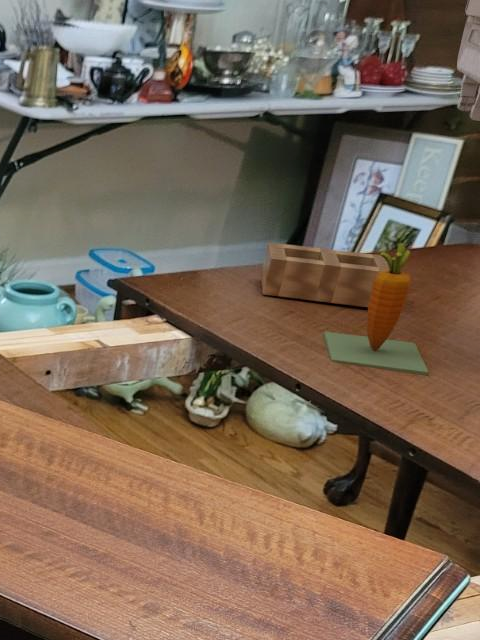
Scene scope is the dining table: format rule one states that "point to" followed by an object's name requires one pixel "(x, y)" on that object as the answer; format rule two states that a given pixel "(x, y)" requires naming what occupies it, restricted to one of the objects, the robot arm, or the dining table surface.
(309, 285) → the rack
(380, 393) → the dining table surface
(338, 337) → the mat
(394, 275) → the carrot
